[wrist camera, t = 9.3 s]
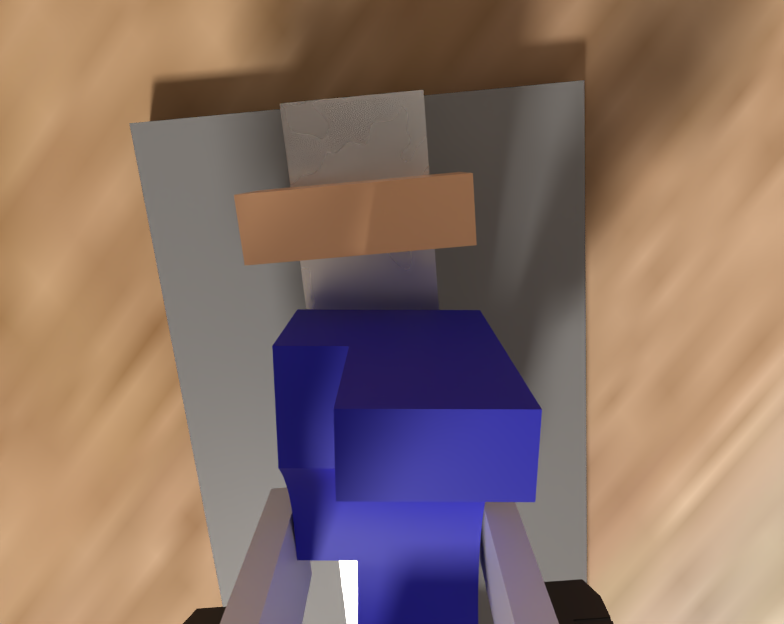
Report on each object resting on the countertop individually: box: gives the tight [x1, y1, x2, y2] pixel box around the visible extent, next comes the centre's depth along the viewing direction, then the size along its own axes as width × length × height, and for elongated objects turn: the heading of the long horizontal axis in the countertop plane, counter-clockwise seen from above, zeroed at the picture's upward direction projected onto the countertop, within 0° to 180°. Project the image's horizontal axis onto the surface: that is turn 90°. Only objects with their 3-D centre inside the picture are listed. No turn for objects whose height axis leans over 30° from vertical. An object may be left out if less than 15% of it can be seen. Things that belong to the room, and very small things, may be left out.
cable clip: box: [272, 309, 542, 624], centre depth 13 cm, size 12×4×6 cm, turn 0°
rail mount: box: [129, 80, 587, 624], centre depth 16 cm, size 22×12×5 cm, turn 5°
